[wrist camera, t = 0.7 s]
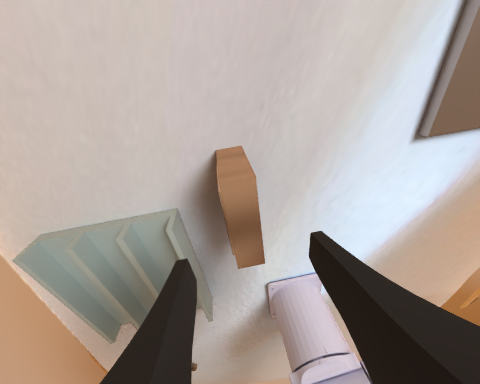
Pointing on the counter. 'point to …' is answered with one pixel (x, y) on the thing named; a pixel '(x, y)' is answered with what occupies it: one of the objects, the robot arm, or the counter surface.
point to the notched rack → (113, 268)
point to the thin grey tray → (457, 80)
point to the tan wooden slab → (240, 206)
